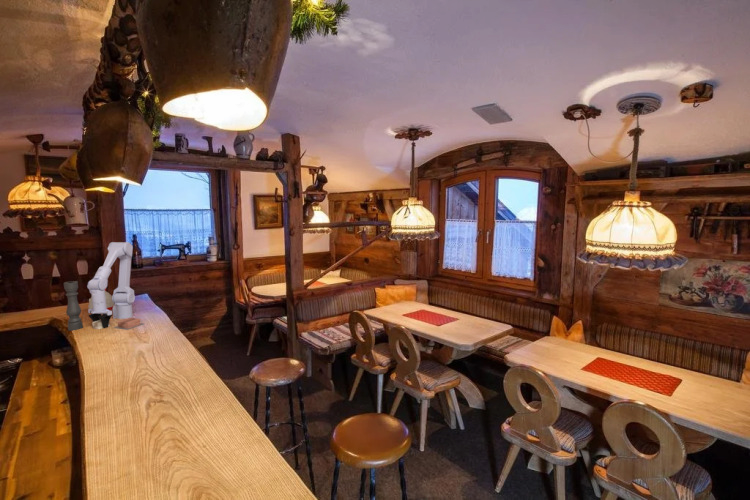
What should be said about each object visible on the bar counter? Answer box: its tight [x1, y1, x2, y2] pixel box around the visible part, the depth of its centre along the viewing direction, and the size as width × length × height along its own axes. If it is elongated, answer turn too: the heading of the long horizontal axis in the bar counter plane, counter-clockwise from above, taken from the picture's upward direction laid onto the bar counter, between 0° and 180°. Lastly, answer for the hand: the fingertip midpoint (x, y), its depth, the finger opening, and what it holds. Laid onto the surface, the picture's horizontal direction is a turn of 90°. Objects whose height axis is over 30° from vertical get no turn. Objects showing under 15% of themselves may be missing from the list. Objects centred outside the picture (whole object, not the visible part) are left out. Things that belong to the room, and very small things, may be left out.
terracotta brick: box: [117, 317, 141, 329], centre depth 196 cm, size 7×7×3 cm
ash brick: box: [91, 319, 111, 330], centre depth 194 cm, size 4×6×5 cm, turn 162°
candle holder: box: [63, 280, 84, 332], centre depth 195 cm, size 6×6×25 cm
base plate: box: [113, 322, 144, 331], centre depth 197 cm, size 10×10×2 cm
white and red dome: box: [87, 288, 115, 311], centre depth 234 cm, size 14×14×15 cm
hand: (101, 327), depth 195 cm, fingers open, 5 cm apart
